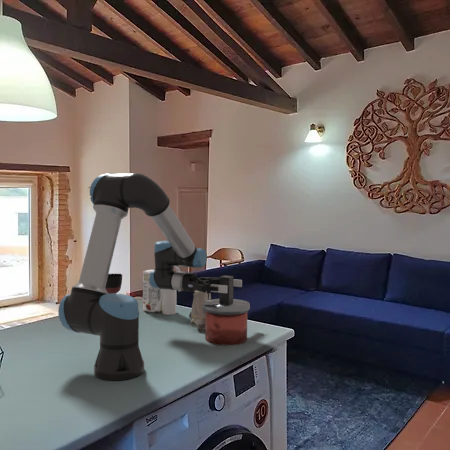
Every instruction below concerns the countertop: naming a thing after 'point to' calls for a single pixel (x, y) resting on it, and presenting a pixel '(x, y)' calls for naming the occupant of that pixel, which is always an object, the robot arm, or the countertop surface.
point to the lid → (226, 300)
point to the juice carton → (149, 293)
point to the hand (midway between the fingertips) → (234, 286)
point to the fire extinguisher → (167, 300)
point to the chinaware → (199, 309)
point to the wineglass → (113, 283)
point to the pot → (226, 328)
